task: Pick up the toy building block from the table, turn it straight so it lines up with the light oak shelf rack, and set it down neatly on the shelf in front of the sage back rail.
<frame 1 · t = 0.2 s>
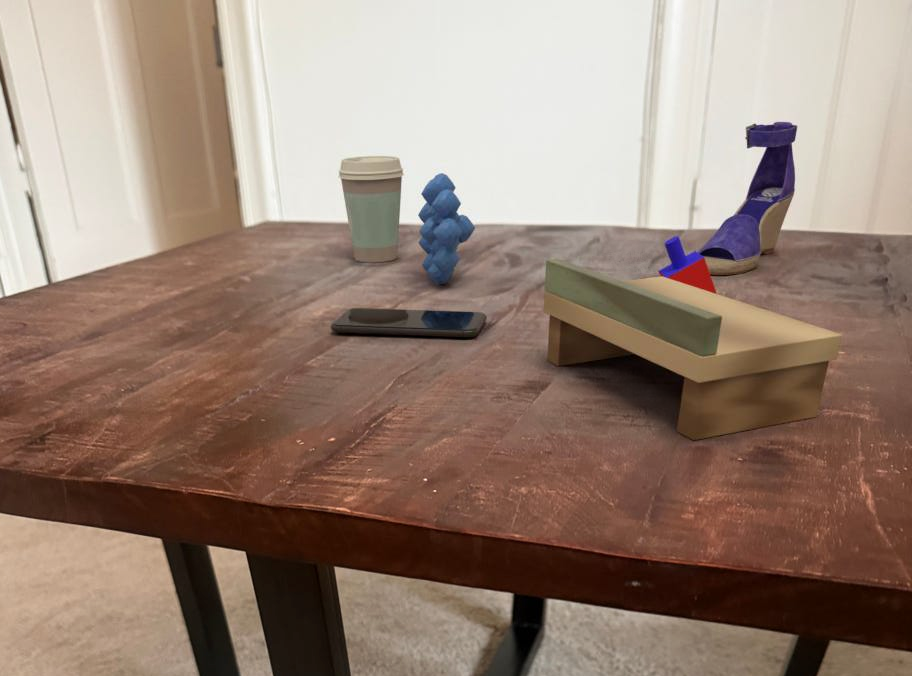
smartphone: (409, 328, 89), on the table
shoe shelf: (669, 386, 71), on the table
toy building block: (685, 305, 94), on the table
coffee cup: (375, 260, 119), on the table
grapes: (448, 285, 105), on the table
sandal: (740, 263, 112), on the table
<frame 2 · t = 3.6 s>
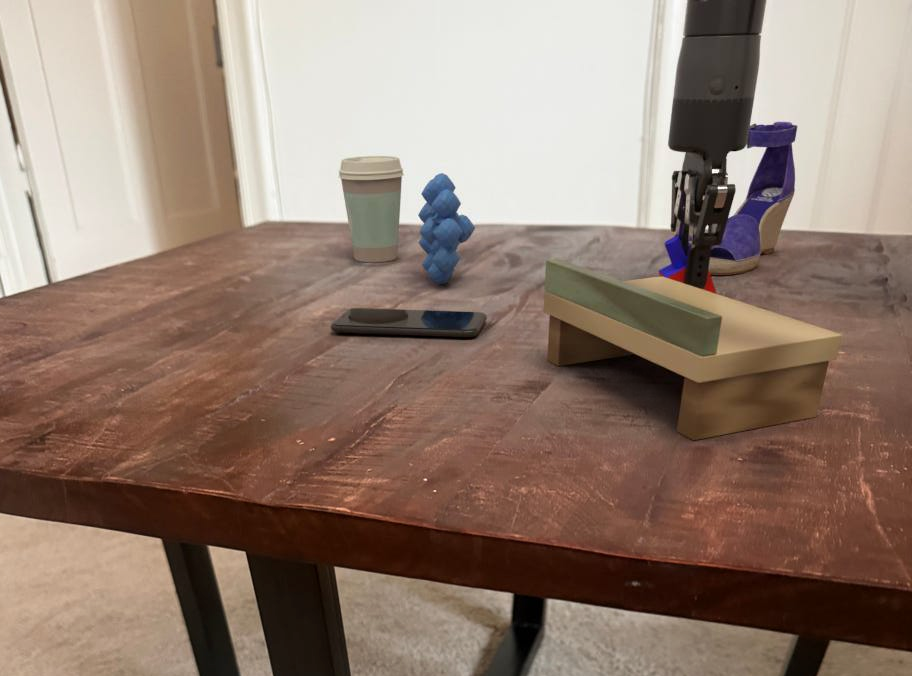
hand: (688, 282, 93), 2 cm above the table, tool pointing down, fingers closed on toy building block, 3 cm apart
toy building block: (685, 305, 94), on the table, touching gripper
everything else where it was.
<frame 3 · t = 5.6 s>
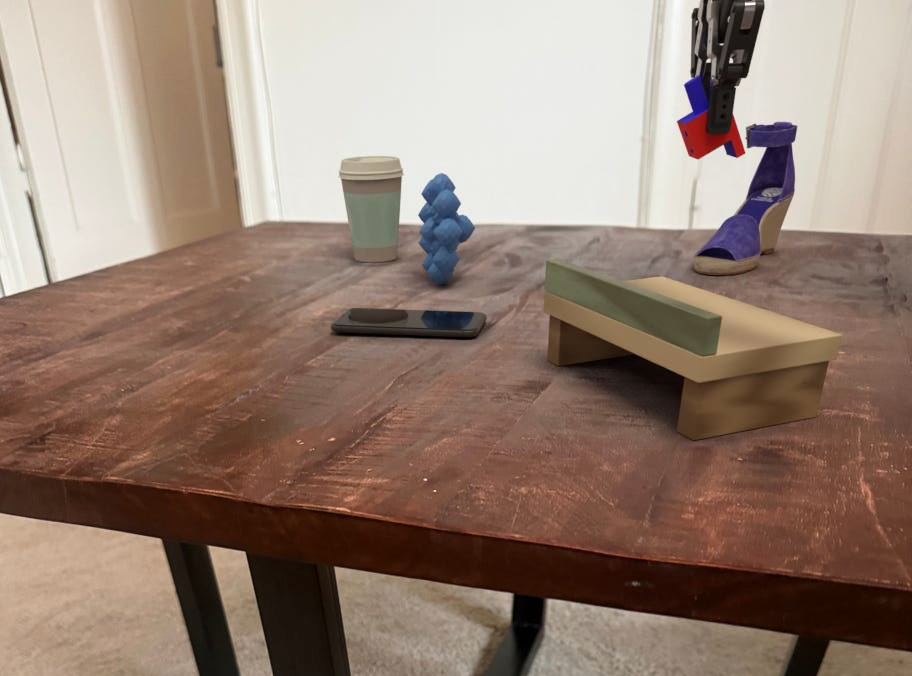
hand: (710, 131, 84), 16 cm above the table, tool pointing down, fingers closed on toy building block, 3 cm apart
toy building block: (707, 159, 86), point 14 cm above the table, touching gripper
everything else where it was.
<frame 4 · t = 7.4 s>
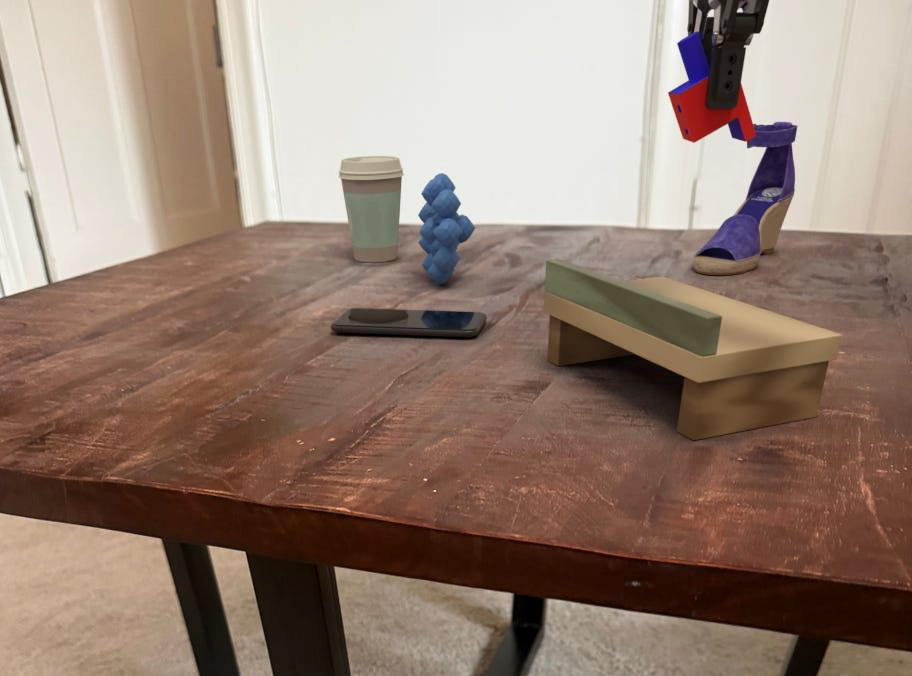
hand: (712, 106, 65), 19 cm above the table, tool pointing down, fingers closed on toy building block, 3 cm apart
toy building block: (706, 143, 66), point 17 cm above the table, touching gripper
everything else where it was.
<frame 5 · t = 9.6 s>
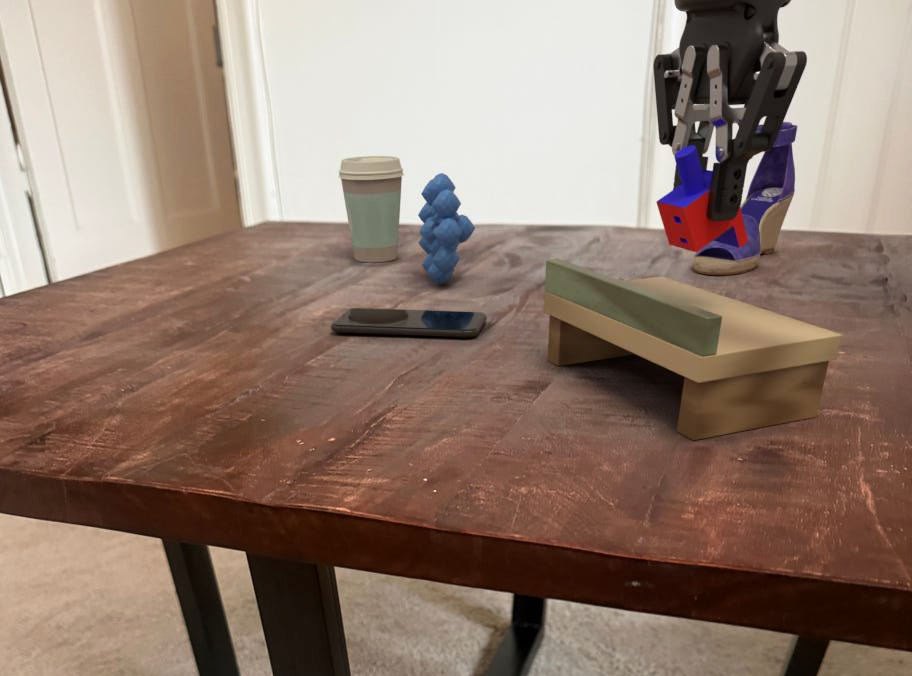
hand: (703, 214, 65), 13 cm above the table, tool pointing down, fingers closed on toy building block, 3 cm apart
toy building block: (697, 249, 66), point 10 cm above the table, touching gripper
everything else where it was.
when the fingers open (8 cm above the table, at t = 11.1 s): toy building block stays where it is, resting on shoe shelf.
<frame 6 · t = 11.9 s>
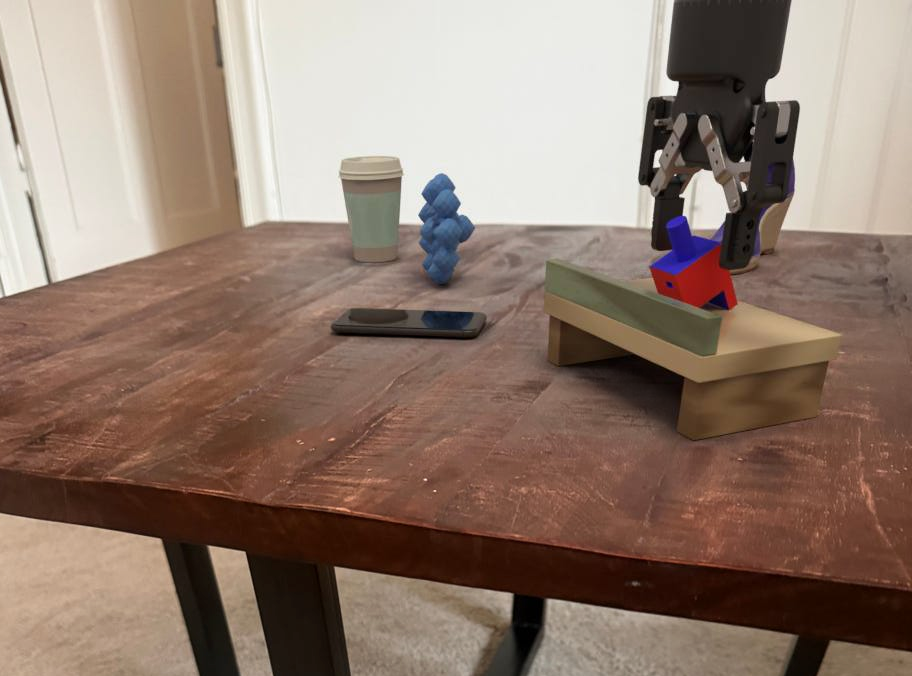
hand: (696, 258, 66), 10 cm above the table, tool pointing down, fingers open, 8 cm apart
toy building block: (689, 311, 69), point 6 cm above the table, touching shoe shelf
everything else where it was.
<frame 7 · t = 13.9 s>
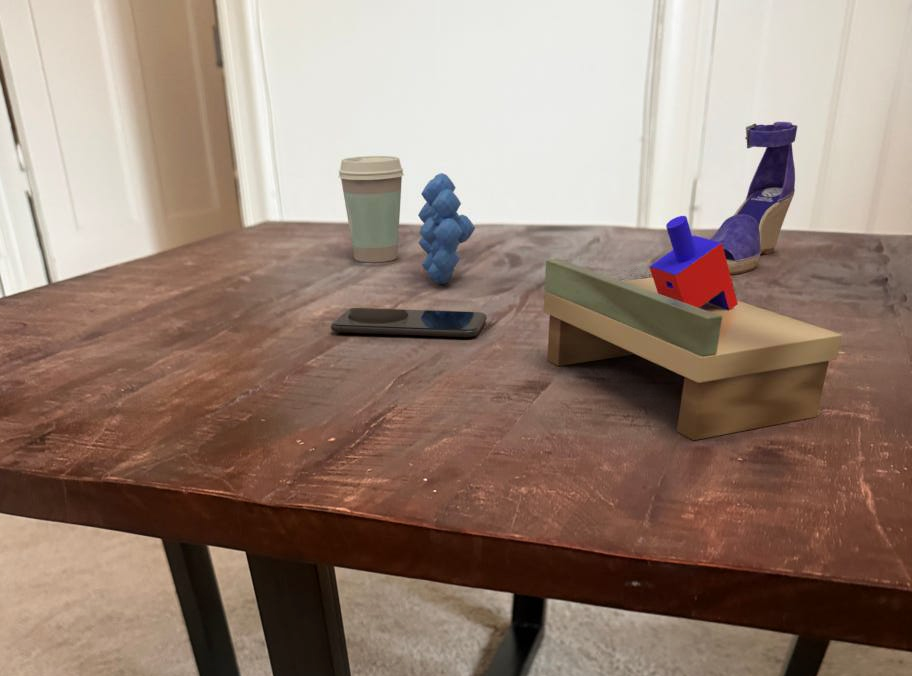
nothing on the table moved.
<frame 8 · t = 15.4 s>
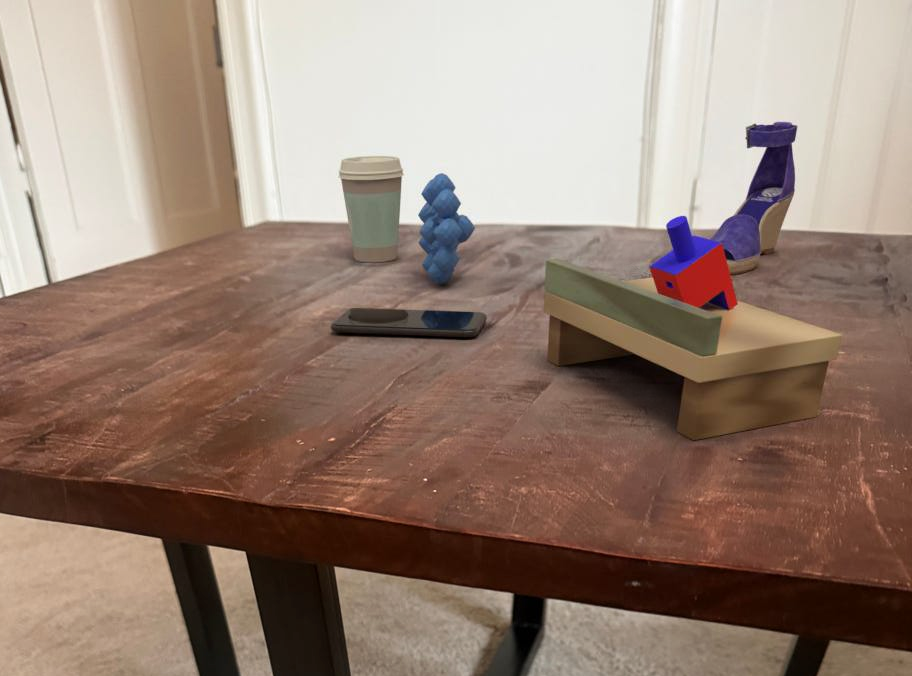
nothing on the table moved.
at the end: toy building block 0.4 cm off-centre on the shoe shelf, point 5.8 cm above the shoe shelf's base; toy building block tilted 0°; the gripper is holding nothing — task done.
